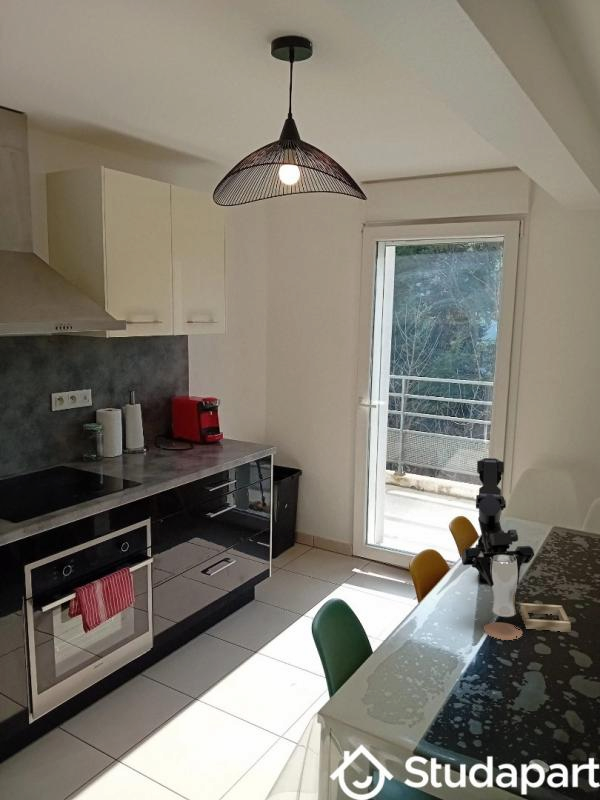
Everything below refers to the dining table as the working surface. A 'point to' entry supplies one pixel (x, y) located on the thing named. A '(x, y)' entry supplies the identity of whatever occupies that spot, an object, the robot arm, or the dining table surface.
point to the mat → (502, 631)
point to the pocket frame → (550, 625)
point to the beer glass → (504, 584)
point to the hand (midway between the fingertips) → (504, 585)
